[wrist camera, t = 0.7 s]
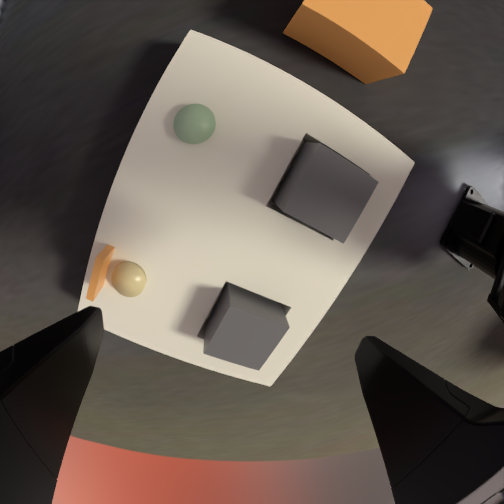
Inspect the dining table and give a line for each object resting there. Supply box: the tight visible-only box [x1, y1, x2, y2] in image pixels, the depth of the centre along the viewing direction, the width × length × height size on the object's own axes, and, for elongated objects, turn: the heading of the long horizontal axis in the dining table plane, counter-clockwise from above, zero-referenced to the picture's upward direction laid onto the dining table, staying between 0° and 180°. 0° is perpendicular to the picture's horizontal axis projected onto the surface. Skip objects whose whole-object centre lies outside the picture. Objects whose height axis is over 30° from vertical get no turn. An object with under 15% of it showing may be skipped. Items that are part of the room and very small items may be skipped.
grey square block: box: [203, 282, 290, 371], centre depth 19 cm, size 4×4×3 cm
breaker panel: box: [78, 30, 415, 386], centre depth 18 cm, size 16×20×5 cm
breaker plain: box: [272, 142, 378, 244], centre depth 16 cm, size 4×4×3 cm
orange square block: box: [283, 0, 433, 84], centre depth 13 cm, size 7×7×5 cm
